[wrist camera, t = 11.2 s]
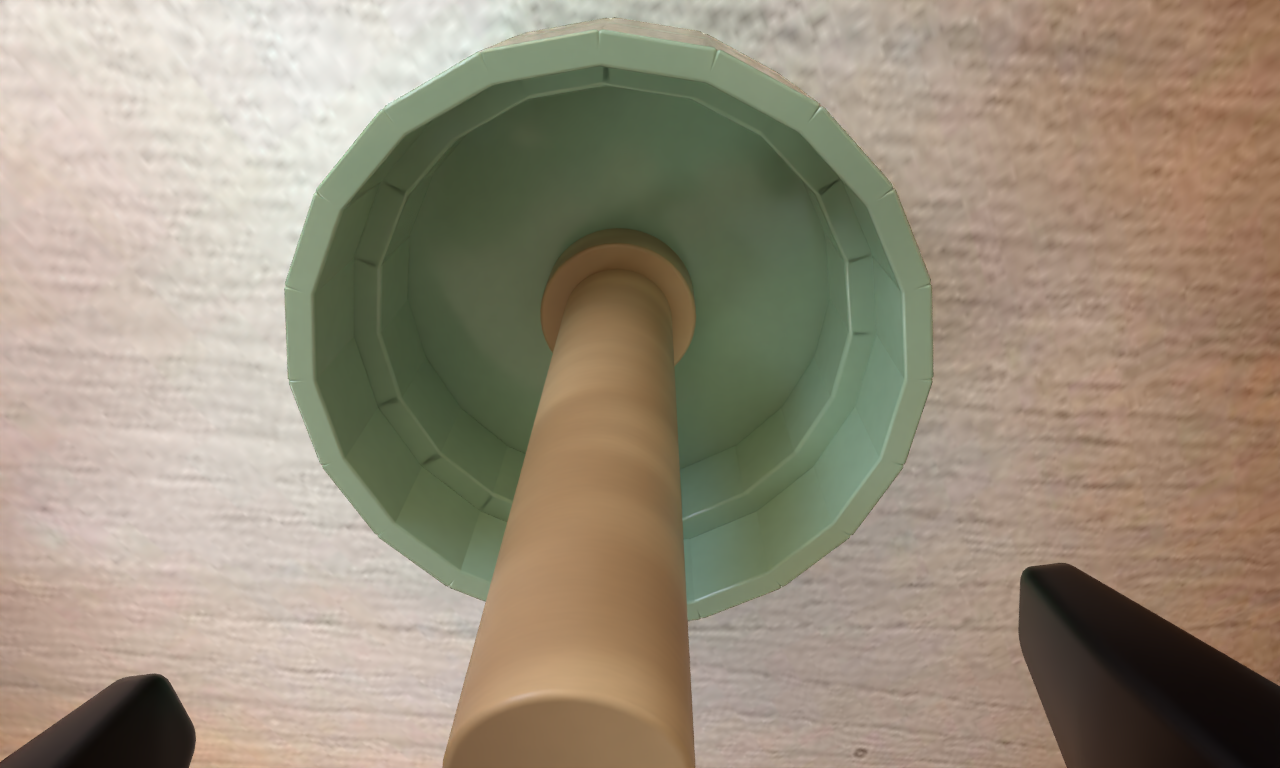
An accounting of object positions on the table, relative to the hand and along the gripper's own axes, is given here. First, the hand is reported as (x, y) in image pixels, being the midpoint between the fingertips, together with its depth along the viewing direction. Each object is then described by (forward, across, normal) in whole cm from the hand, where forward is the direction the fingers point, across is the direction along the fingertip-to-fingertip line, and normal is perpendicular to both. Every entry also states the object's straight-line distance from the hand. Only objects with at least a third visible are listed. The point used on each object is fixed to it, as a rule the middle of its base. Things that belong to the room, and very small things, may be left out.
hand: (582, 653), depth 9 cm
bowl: (+11, 0, 0) cm, 11 cm away
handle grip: (+11, 0, 0) cm, 11 cm away
